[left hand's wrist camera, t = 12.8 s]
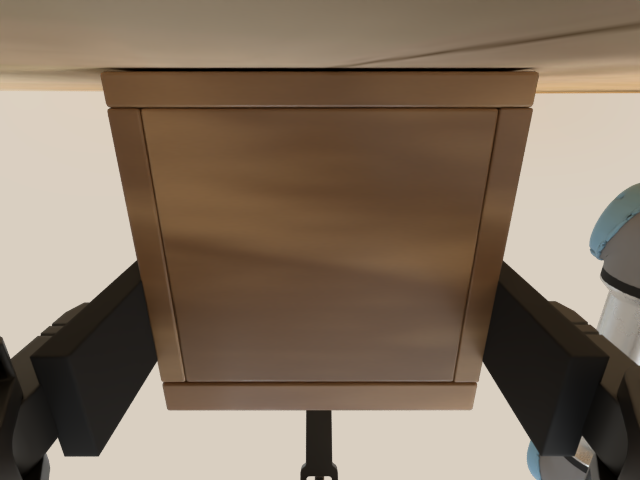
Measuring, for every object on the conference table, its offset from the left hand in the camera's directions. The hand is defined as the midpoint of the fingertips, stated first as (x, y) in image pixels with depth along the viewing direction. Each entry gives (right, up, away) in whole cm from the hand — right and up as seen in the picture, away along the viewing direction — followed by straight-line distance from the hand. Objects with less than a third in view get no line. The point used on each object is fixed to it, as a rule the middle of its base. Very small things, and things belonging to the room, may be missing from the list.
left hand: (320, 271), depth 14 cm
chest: (0, +8, +1) cm, 8 cm away
